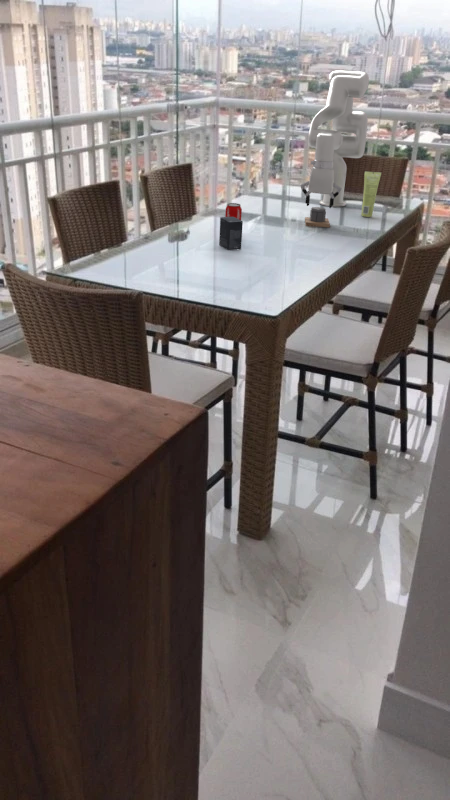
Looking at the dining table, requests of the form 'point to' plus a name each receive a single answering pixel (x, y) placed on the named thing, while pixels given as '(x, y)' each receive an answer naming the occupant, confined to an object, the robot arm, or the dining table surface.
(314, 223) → the stud block
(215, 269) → the dining table surface
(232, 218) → the box
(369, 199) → the tube
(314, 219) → the cap
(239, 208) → the soda can
